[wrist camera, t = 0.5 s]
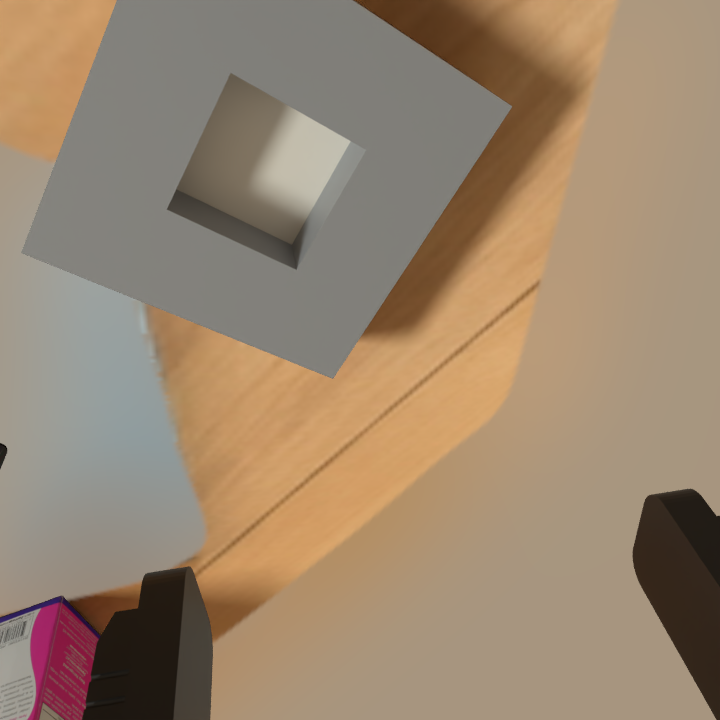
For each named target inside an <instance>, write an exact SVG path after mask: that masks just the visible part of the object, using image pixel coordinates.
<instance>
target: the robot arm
mask: <svg viewBox="0 0 720 720" xmlns="http://www.w3.org/2000/svg"><path fill="white" fill-rule="evenodd" d="M633 563H634V569H635V572H636V575H637V578H638V581H639V583H640V585H641V587H642V589H643V590H644V592H645V594H646V596H647V598H648V599H649V601H650V603H651V605H652V606H653V608H654V610H655V612H656V613H657V615H658V617H659V619H660V620H661V622H662V624H663V626H664V628H665V629H666V631H667V633H668V635H669V636H670V638H671V640H672V641H673V643H674V645H675V647H676V649H677V650H678V652H679V654H680V656H681V657H682V659H683V661H684V663H685V665H686V666H687V668H688V670H689V672H690V674H691V675H692V677H693V679H694V681H695V682H696V684H697V686H698V688H699V689H700V691H701V693H702V695H703V696H704V698H705V700H706V702H707V704H708V705H709V707H710V709H711V711H712V712H713V714H714V716H715V718H716V719H717V720H720V516H716V515H715V514H714V512H713V511H712V510H711V508H710V507H709V506H708V504H707V503H706V502H705V500H704V499H703V497H702V496H701V495H700V494H699V493H697V492H696V491H695V490H693V489H685V490H678V491H672V492H666V493H659V494H654V495H649V496H648V497H647V498H646V499H645V502H644V506H643V510H642V514H641V518H640V522H639V527H638V531H637V535H636V540H635V543H634V547H633ZM212 659H213V645H212V633H211V626H210V621H209V617H208V614H207V611H206V608H205V605H204V602H203V599H202V596H201V593H200V590H199V587H198V584H197V581H196V578H195V575H194V572H193V570H192V568H191V567H183V568H177V569H170V570H164V571H158V572H152V573H147V574H145V576H144V578H143V581H142V586H141V593H140V600H139V606H138V608H137V609H131V610H125V611H119V612H115V613H114V615H113V617H112V618H111V620H110V622H109V623H108V625H107V627H106V628H105V630H104V632H103V633H102V635H101V637H100V638H99V640H98V642H97V645H96V650H95V655H94V660H93V665H92V671H91V682H89V686H88V691H87V696H86V702H85V703H86V709H84V712H83V717H82V720H210V710H211V685H212Z"/></svg>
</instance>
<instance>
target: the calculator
mask: <svg viewBox="0 0 720 720" xmlns="http://www.w3.org/2000/svg"><path fill="white" fill-rule="evenodd" d="M6 453H7V447H6V446H5V445H4V444H2V443H0V468H1V466H2V464H3V461H4V459H5V456H6Z"/></svg>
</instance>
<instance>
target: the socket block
mask: <svg viewBox="0 0 720 720" xmlns="http://www.w3.org/2000/svg"><path fill="white" fill-rule="evenodd" d="M511 108H512V106H511V105H509V104H508V103H507V102H505V101H504V100H502V99H501V98H499V97H498V96H496V95H495V94H494V93H492V92H491V91H489V90H488V89H486V88H485V87H483V86H482V85H480V84H479V83H477V82H476V81H474V80H473V79H471V78H470V77H468V76H467V75H465V74H464V73H462V72H461V71H459V70H458V69H456V68H455V67H453V66H452V65H450V64H449V63H447V62H446V61H444V60H443V59H441V58H440V57H438V56H437V55H435V54H434V53H432V52H431V51H429V50H428V49H426V48H425V47H423V46H422V45H420V44H419V43H417V42H416V41H414V40H413V39H411V38H410V37H408V36H407V35H405V34H404V33H402V32H401V31H399V30H398V29H396V28H395V27H393V26H392V25H390V24H389V23H387V22H386V21H384V20H383V19H381V18H380V17H378V16H377V15H375V14H374V13H372V12H371V11H369V10H368V9H366V8H365V7H363V6H362V5H360V4H359V3H357V2H356V1H354V0H117V2H116V4H115V7H114V10H113V12H112V15H111V18H110V20H109V23H108V25H107V28H106V31H105V33H104V36H103V39H102V41H101V44H100V47H99V49H98V52H97V54H96V57H95V60H94V62H93V65H92V68H91V70H90V73H89V76H88V78H87V81H86V83H85V86H84V89H83V91H82V94H81V97H80V99H79V102H78V105H77V107H76V110H75V112H74V115H73V118H72V120H71V123H70V126H69V128H68V131H67V134H66V136H65V139H64V141H63V144H62V147H61V149H60V152H59V155H58V157H57V160H56V163H55V165H54V168H53V170H52V173H51V176H50V178H49V181H48V184H47V187H46V189H45V192H44V194H43V197H42V200H41V202H40V205H39V207H38V210H37V213H36V216H35V218H34V221H33V223H32V226H31V229H30V232H29V234H28V237H27V240H26V242H25V245H24V247H23V250H22V253H23V254H25V255H28V256H30V257H33V258H35V259H37V260H40V261H42V262H45V263H47V264H50V265H53V266H55V267H57V268H60V269H62V270H65V271H67V272H70V273H72V274H75V275H77V276H80V277H82V278H85V279H87V280H90V281H92V282H95V283H97V284H99V285H102V286H105V287H107V288H109V289H112V290H114V291H117V292H119V293H122V294H124V295H127V296H129V297H132V298H134V299H137V300H139V301H141V302H144V303H146V304H149V305H151V306H154V307H156V308H159V309H161V310H164V311H166V312H169V313H171V314H174V315H176V316H179V317H181V318H184V319H186V320H189V321H191V322H194V323H196V324H198V325H201V326H203V327H206V328H208V329H211V330H213V331H216V332H218V333H221V334H223V335H226V336H228V337H231V338H233V339H236V340H238V341H241V342H243V343H246V344H248V345H250V346H253V347H255V348H258V349H260V350H263V351H265V352H268V353H270V354H273V355H275V356H278V357H280V358H283V359H285V360H288V361H290V362H293V363H295V364H298V365H300V366H302V367H305V368H307V369H310V370H312V371H315V372H317V373H320V374H322V375H325V376H327V377H330V378H332V379H333V378H334V376H335V375H336V373H337V372H338V370H339V369H340V367H341V366H342V364H343V363H344V361H345V360H346V358H347V357H348V355H349V354H350V352H351V351H352V349H353V348H354V346H355V345H356V343H357V342H358V340H359V339H360V337H361V335H362V334H363V332H364V331H365V329H366V328H367V326H368V325H369V323H370V322H371V320H372V319H373V317H374V316H375V314H376V313H377V311H378V310H379V308H380V307H381V305H382V304H383V302H384V301H385V299H386V298H387V296H388V295H389V293H390V291H391V290H392V288H393V287H394V285H395V284H396V282H397V281H398V279H399V278H400V276H401V275H402V273H403V272H404V270H405V269H406V267H407V266H408V264H409V263H410V261H411V260H412V258H413V257H414V255H415V254H416V252H417V250H418V249H419V247H420V246H421V244H422V243H423V241H424V240H425V238H426V237H427V235H428V234H429V232H430V231H431V229H432V228H433V226H434V225H435V223H436V222H437V220H438V219H439V217H440V216H441V214H442V213H443V211H444V210H445V208H446V206H447V205H448V203H449V202H450V200H451V199H452V197H453V196H454V194H455V193H456V191H457V190H458V188H459V187H460V185H461V184H462V182H463V181H464V179H465V178H466V176H467V175H468V173H469V172H470V170H471V169H472V167H473V165H474V164H475V162H476V161H477V159H478V158H479V156H480V155H481V153H482V152H483V150H484V149H485V147H486V146H487V144H488V143H489V141H490V140H491V138H492V137H493V135H494V134H495V132H496V131H497V129H498V128H499V126H500V125H501V123H502V121H503V120H504V118H505V117H506V115H507V114H508V112H509V111H510V109H511Z"/></svg>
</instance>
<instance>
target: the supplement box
mask: <svg viewBox="0 0 720 720" xmlns="http://www.w3.org/2000/svg"><path fill="white" fill-rule="evenodd" d="M100 637H101V636H100V635H99V634H98V633H97V632H96V631H95V630H94V629H93V628H92V627H91V626H90V625H89V624H88V623H87V622H86V620H85V619H84V618H83V617H82V616H81V615H80V614H79V613H78V612H77V611H76V610H75V609H74V608H73V607H72V606H71V605H70V604H69V602H68V601H67V600H66V599H65V598H64V597H63V596H59V597H56V598H53V599H50V600H48V601H45V602H42V603H39V604H37V605H34V606H31V607H29V608H26V609H23V610H20V611H18V612H15V613H12V614H9V615H6V616H4V617H1V618H0V720H82V717H83V712H84V709H86V703H85V702H86V696H87V691H88V686H89V682H91V671H92V665H93V660H94V655H95V650H96V645H97V642H98V640H99V638H100Z"/></svg>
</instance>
